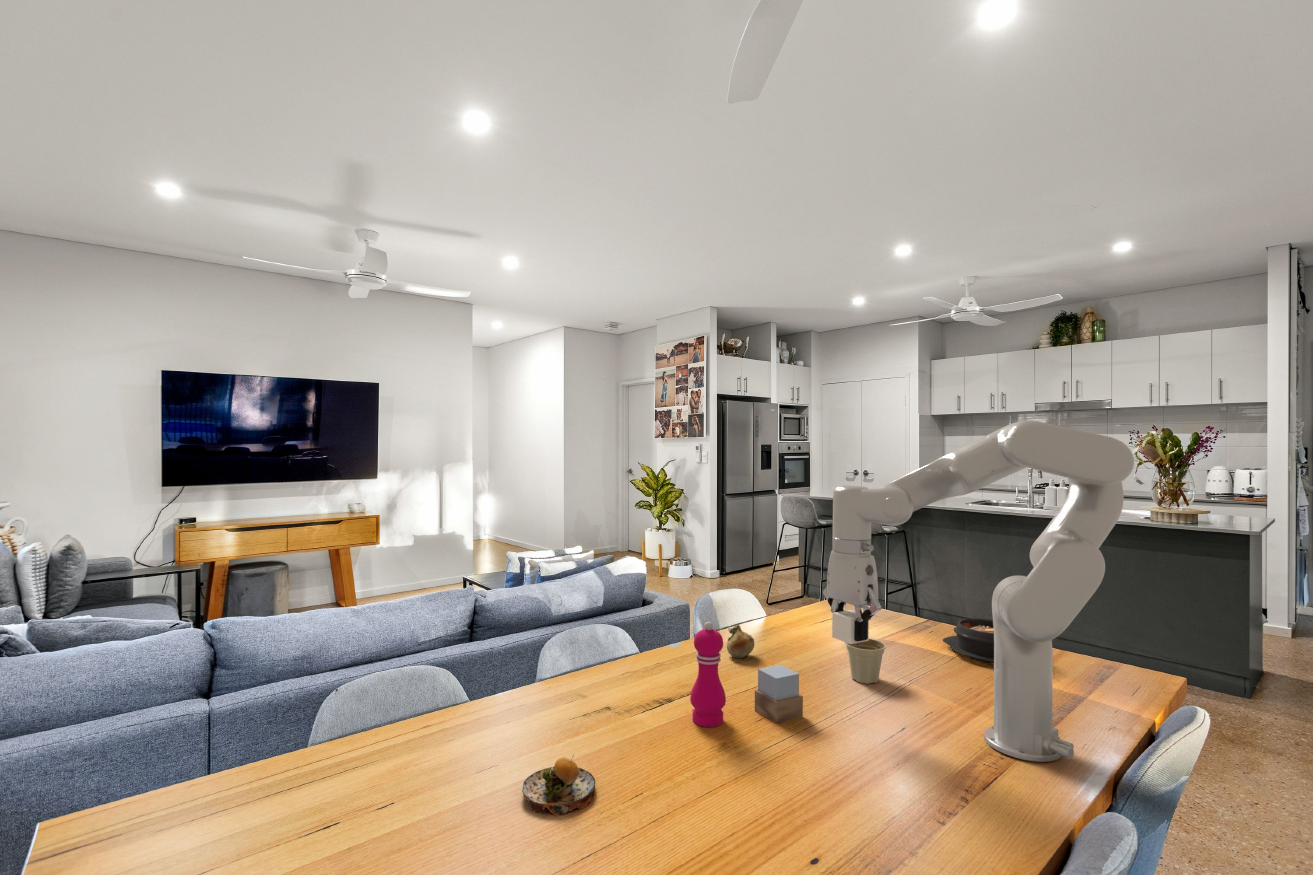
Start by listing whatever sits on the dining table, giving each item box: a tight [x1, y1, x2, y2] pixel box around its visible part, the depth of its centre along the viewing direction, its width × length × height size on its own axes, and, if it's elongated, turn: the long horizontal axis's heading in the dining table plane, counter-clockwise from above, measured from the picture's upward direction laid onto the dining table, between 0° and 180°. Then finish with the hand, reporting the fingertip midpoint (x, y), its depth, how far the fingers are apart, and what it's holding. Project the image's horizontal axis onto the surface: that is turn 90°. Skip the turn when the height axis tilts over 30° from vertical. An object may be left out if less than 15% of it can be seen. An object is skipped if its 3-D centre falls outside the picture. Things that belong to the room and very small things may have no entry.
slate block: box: [757, 664, 800, 701], centre depth 132 cm, size 6×6×4 cm
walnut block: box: [754, 689, 804, 725], centre depth 132 cm, size 7×7×4 cm
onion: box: [726, 624, 755, 659], centre depth 167 cm, size 8×8×8 cm
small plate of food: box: [521, 754, 597, 816], centre depth 101 cm, size 12×12×8 cm
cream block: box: [831, 609, 870, 644], centre depth 128 cm, size 5×5×5 cm
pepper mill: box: [689, 621, 727, 728], centre depth 128 cm, size 7×7×20 cm
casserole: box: [942, 618, 994, 665], centre depth 169 cm, size 25×19×8 cm
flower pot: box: [844, 638, 887, 685], centre depth 152 cm, size 9×9×9 cm
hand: (850, 635), depth 128 cm, fingers closed on cream block, 5 cm apart
